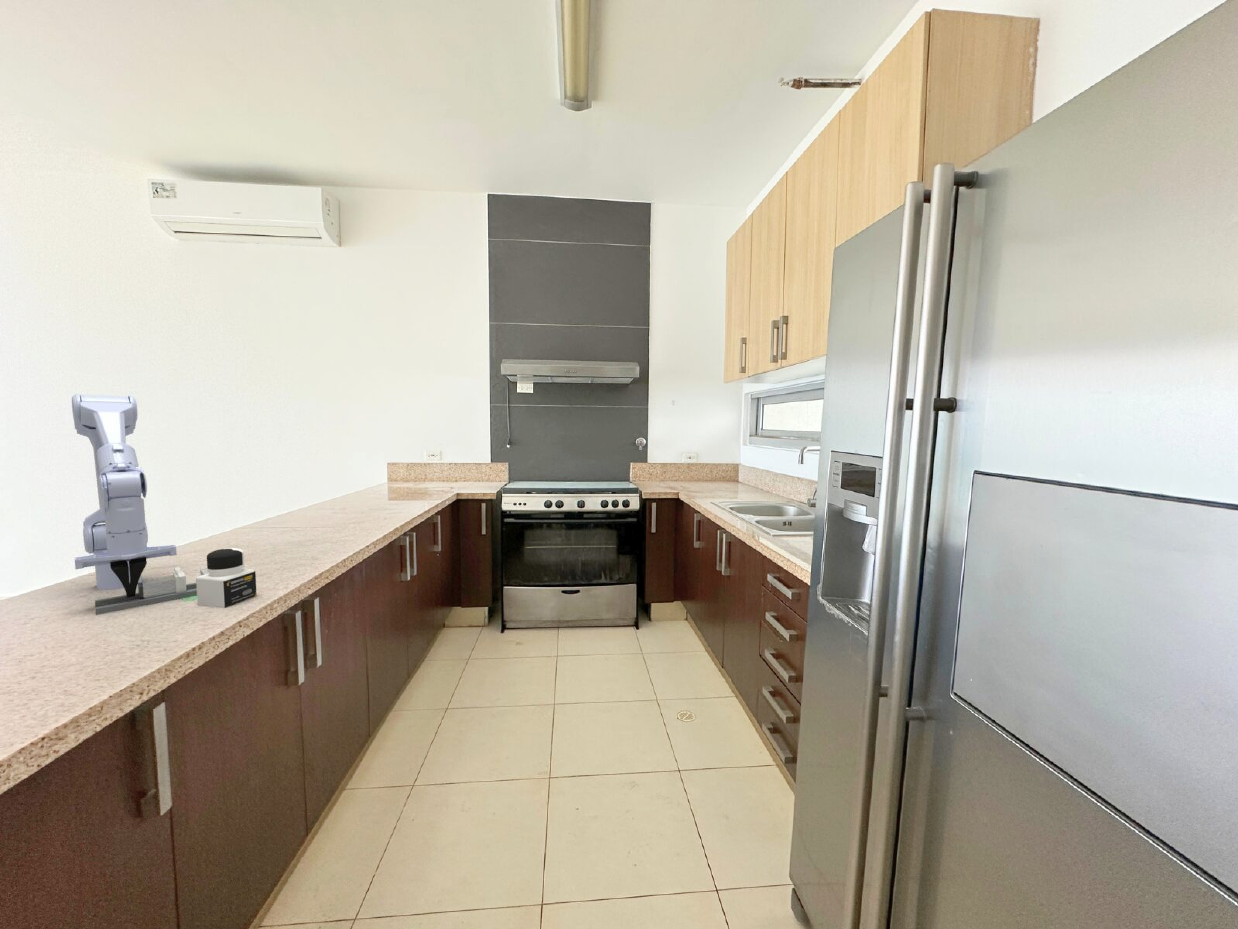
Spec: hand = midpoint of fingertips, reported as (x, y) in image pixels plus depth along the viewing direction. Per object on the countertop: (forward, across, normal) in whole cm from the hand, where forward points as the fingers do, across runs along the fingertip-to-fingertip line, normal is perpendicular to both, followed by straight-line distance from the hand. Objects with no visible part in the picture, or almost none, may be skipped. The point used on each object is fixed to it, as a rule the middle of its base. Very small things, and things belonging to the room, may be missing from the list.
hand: (131, 595), depth 101 cm
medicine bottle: (+3, +14, -11) cm, 18 cm away
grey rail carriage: (+2, +4, 0) cm, 5 cm away
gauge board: (+3, +4, 0) cm, 5 cm away
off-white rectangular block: (+2, +8, 0) cm, 8 cm away
